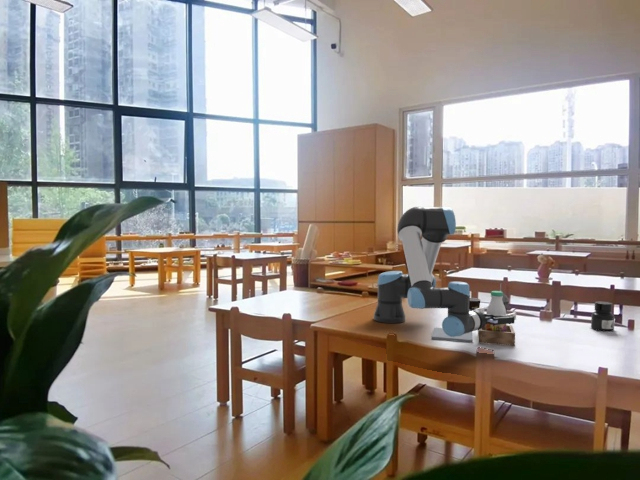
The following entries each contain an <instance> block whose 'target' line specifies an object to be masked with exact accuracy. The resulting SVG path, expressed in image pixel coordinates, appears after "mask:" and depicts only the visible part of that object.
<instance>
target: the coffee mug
mask: <svg viewBox="0 0 640 480" xmlns="http://www.w3.org/2000/svg"><path fill="white" fill-rule="evenodd" d="M480 306H481V299H480V298H476V297H470V301H469V310H471V308H474V310H475V309H478V308H481V307H480Z"/></svg>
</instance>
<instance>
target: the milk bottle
mask: <svg viewBox="0 0 640 480" xmlns="http://www.w3.org/2000/svg"><path fill="white" fill-rule="evenodd" d="M503 293H504V292H503V291H502V290H501V291H500V290H492V291H490V297H491V298H490V301H489V304H488V306H487V308H486V313H485V314H492V315H494V316H507V314H506V309H505V306H504V304H503V301H502V297H503ZM489 317H490V319H491V316H489ZM506 325H507V324H498V325H493V324H486V330H488V331H501V332H506Z"/></svg>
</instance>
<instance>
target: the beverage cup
mask: <svg viewBox="0 0 640 480" xmlns="http://www.w3.org/2000/svg"><path fill="white" fill-rule="evenodd" d="M499 291H501V292H502V283H500V284H499ZM502 301H503V304H504V306H505V309H506V315H507V313H508V307H509V298H508V296H507V295H506V294H505V293H504V292H503V297H502Z"/></svg>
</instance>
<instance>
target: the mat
mask: <svg viewBox="0 0 640 480" xmlns="http://www.w3.org/2000/svg"><path fill="white" fill-rule="evenodd" d="M473 336H474V335H473V331H472V332H469V333H466V334H463V335H461V336H456V337H450V336H448V335H447V334H445V332H444V331H443V328H442V327H434V328H433V331H432V334H431V340H438V341H451V342H463V343H473V341H474V340H473V338H474V337H473Z"/></svg>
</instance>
